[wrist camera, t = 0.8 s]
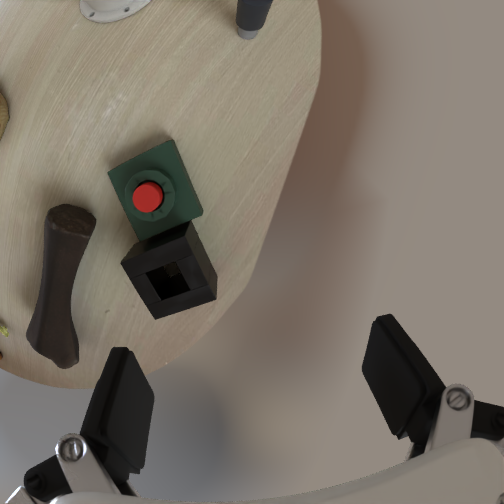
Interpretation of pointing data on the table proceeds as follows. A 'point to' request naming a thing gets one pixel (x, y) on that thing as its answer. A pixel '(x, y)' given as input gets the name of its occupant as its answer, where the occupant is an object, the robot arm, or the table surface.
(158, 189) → the power button
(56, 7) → the table surface
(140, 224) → the station
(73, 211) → the dark brown bone
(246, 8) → the soldering iron
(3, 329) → the yellow-green curved piece
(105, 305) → the table surface
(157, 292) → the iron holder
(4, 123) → the ceramic vessel
